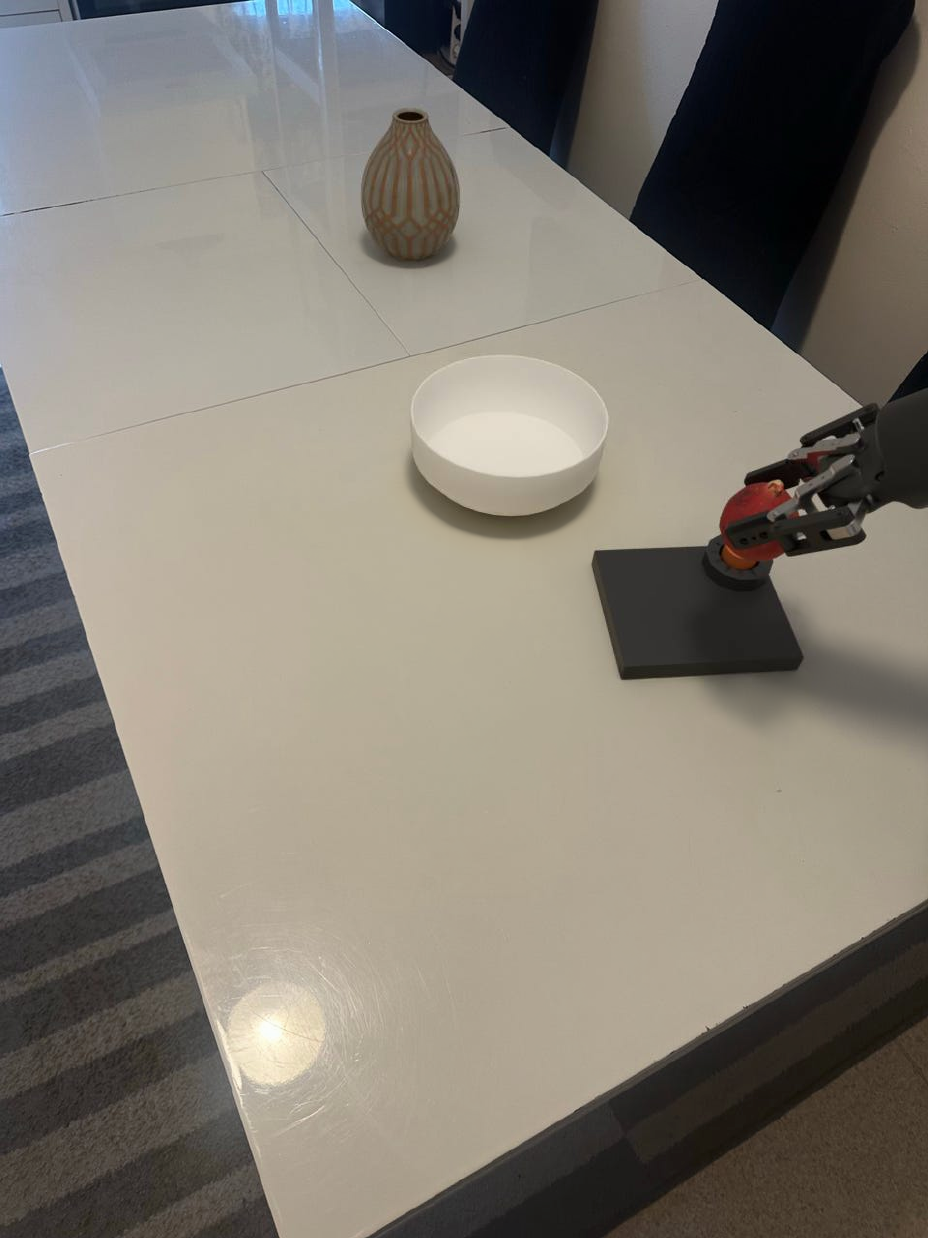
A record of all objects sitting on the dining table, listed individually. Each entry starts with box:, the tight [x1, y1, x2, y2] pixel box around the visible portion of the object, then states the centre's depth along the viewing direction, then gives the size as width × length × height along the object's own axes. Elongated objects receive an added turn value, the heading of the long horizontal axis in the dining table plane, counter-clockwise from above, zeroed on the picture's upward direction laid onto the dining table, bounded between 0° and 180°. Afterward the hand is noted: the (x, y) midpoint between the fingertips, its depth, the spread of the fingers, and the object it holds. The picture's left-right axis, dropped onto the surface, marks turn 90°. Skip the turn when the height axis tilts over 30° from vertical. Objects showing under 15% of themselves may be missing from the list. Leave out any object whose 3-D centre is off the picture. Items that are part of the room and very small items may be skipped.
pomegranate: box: [718, 480, 800, 561], centre depth 71 cm, size 6×6×8 cm
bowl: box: [409, 354, 610, 517], centre depth 93 cm, size 20×20×8 cm
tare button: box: [722, 544, 756, 570], centre depth 85 cm, size 3×3×2 cm
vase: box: [360, 107, 461, 262], centre depth 120 cm, size 13×13×18 cm
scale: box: [591, 533, 805, 680], centre depth 84 cm, size 16×14×4 cm
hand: (740, 512), depth 71 cm, fingers closed on pomegranate, 5 cm apart
